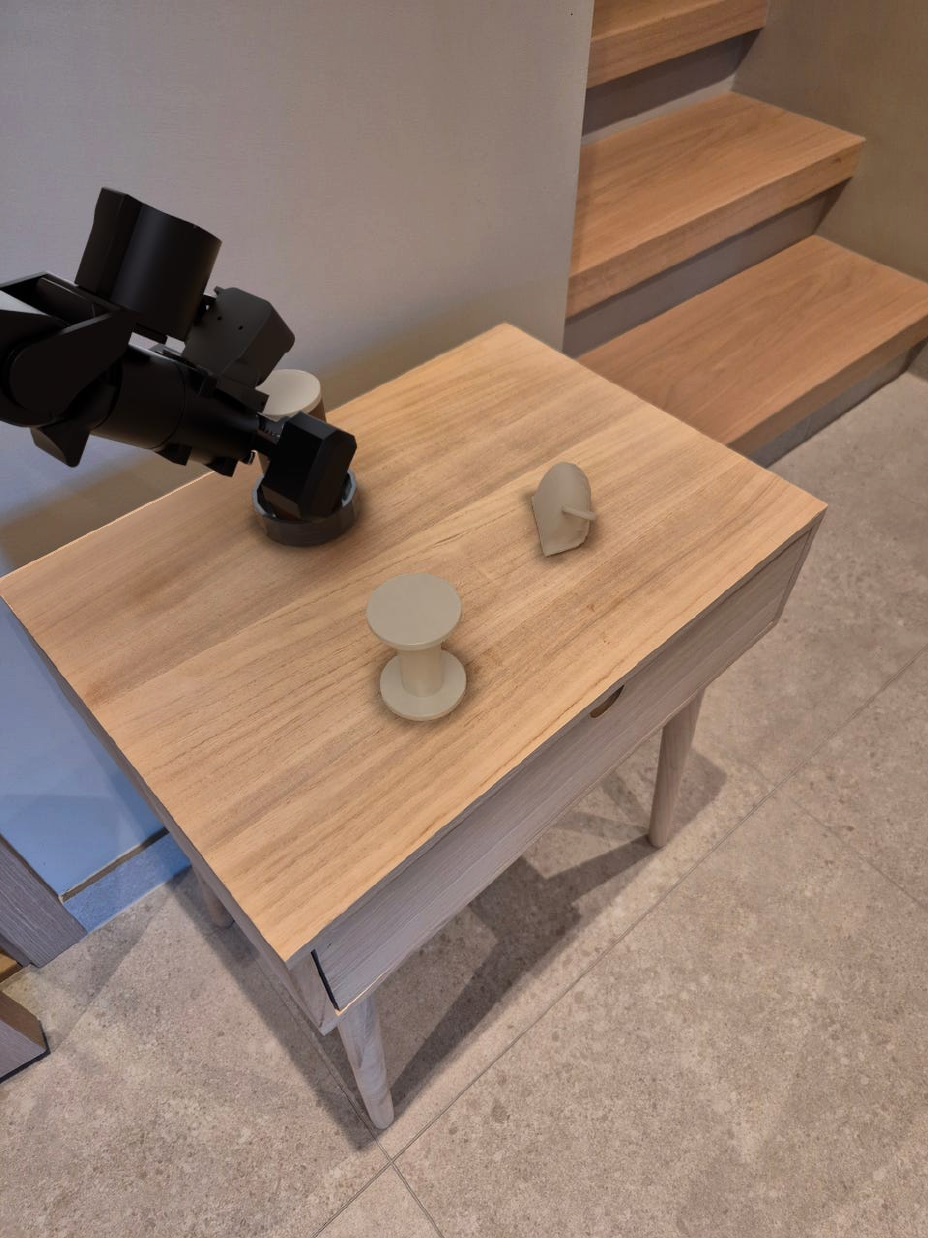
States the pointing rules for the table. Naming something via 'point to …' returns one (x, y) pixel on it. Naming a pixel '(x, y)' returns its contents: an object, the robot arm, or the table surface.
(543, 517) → the beige curved piece
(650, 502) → the table surface
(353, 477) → the bowl
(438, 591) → the stand
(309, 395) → the brown lidded canister
